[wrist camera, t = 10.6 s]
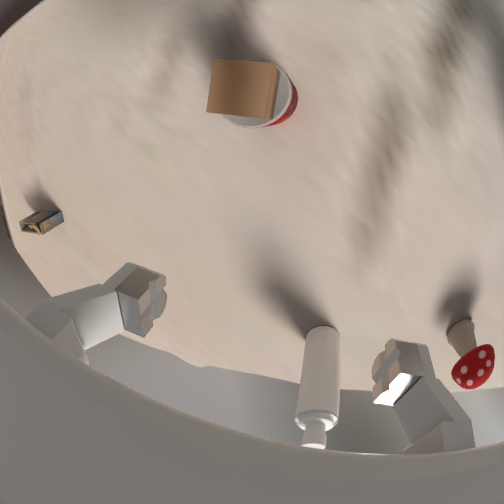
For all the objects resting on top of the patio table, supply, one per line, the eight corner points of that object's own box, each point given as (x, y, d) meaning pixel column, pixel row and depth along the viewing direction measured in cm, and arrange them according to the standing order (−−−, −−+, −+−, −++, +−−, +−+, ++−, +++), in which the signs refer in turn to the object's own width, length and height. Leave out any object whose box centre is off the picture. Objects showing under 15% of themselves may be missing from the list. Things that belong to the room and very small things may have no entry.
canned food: (230, 97, 34) (199, 92, 25) (273, 63, 30) (256, 43, 21) (265, 136, 36) (246, 144, 26) (309, 102, 32) (307, 96, 23)
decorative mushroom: (448, 350, 45) (464, 404, 33) (433, 334, 44) (451, 392, 31) (482, 323, 40) (505, 375, 28) (469, 304, 39) (497, 359, 26)
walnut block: (280, 73, 22) (273, 63, 18) (272, 119, 25) (263, 119, 20) (231, 67, 23) (214, 58, 18) (224, 112, 25) (206, 112, 21)
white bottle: (299, 336, 51) (278, 453, 30) (325, 320, 48) (316, 446, 27) (320, 353, 53) (308, 465, 31) (346, 339, 49) (344, 457, 28)
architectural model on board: (62, 208, 51) (33, 225, 43) (65, 220, 53) (36, 238, 44) (39, 208, 54) (12, 223, 45) (42, 219, 55) (16, 234, 47)
